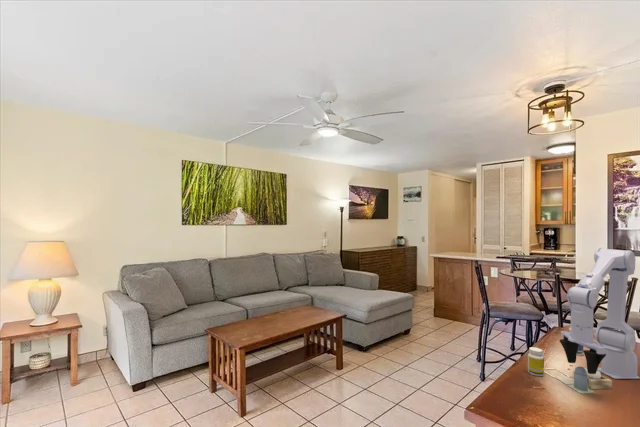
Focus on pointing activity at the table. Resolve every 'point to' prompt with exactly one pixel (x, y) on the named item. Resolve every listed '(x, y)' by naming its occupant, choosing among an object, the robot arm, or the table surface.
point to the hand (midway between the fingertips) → (581, 367)
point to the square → (565, 380)
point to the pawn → (580, 379)
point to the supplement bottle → (535, 361)
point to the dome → (593, 375)
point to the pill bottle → (580, 347)
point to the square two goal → (580, 390)
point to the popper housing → (598, 383)
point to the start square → (555, 369)
